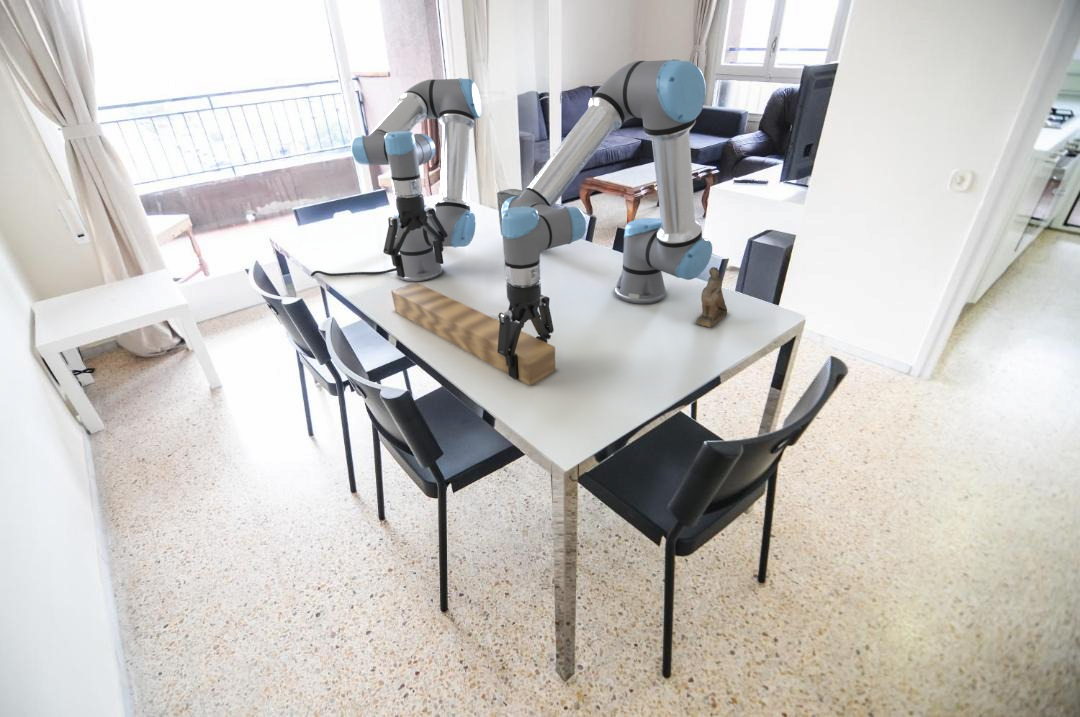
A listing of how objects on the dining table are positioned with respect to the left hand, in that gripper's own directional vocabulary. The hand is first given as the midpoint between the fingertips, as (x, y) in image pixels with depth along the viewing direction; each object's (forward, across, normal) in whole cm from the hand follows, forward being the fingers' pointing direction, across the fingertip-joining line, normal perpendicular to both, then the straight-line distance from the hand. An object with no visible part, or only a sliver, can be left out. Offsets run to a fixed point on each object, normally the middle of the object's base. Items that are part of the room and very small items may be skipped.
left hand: (421, 269), depth 145 cm
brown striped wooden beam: (+13, -4, -23) cm, 27 cm away
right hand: (+12, -5, -48) cm, 49 cm away
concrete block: (+12, +60, +15) cm, 63 cm away
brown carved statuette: (+13, +47, -69) cm, 84 cm away
